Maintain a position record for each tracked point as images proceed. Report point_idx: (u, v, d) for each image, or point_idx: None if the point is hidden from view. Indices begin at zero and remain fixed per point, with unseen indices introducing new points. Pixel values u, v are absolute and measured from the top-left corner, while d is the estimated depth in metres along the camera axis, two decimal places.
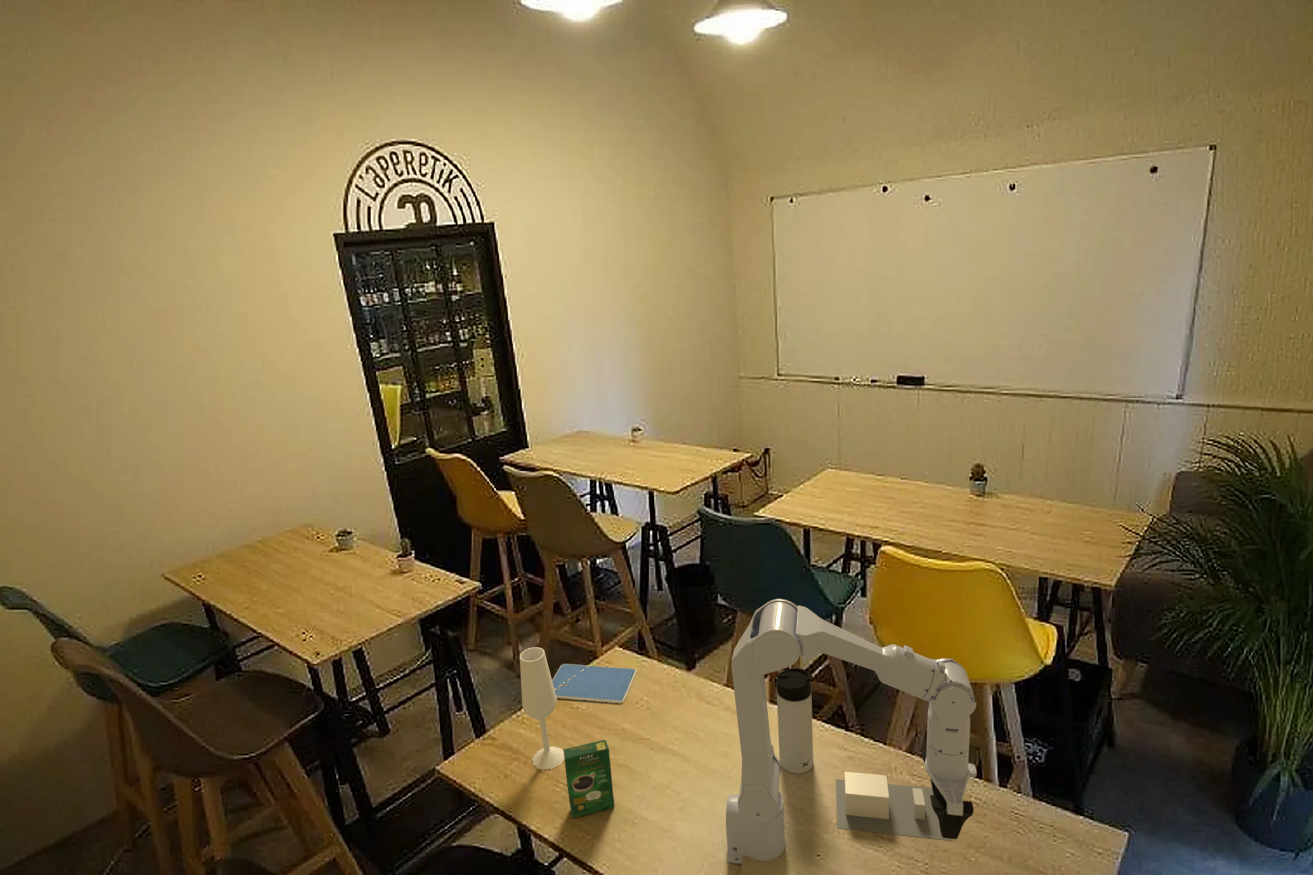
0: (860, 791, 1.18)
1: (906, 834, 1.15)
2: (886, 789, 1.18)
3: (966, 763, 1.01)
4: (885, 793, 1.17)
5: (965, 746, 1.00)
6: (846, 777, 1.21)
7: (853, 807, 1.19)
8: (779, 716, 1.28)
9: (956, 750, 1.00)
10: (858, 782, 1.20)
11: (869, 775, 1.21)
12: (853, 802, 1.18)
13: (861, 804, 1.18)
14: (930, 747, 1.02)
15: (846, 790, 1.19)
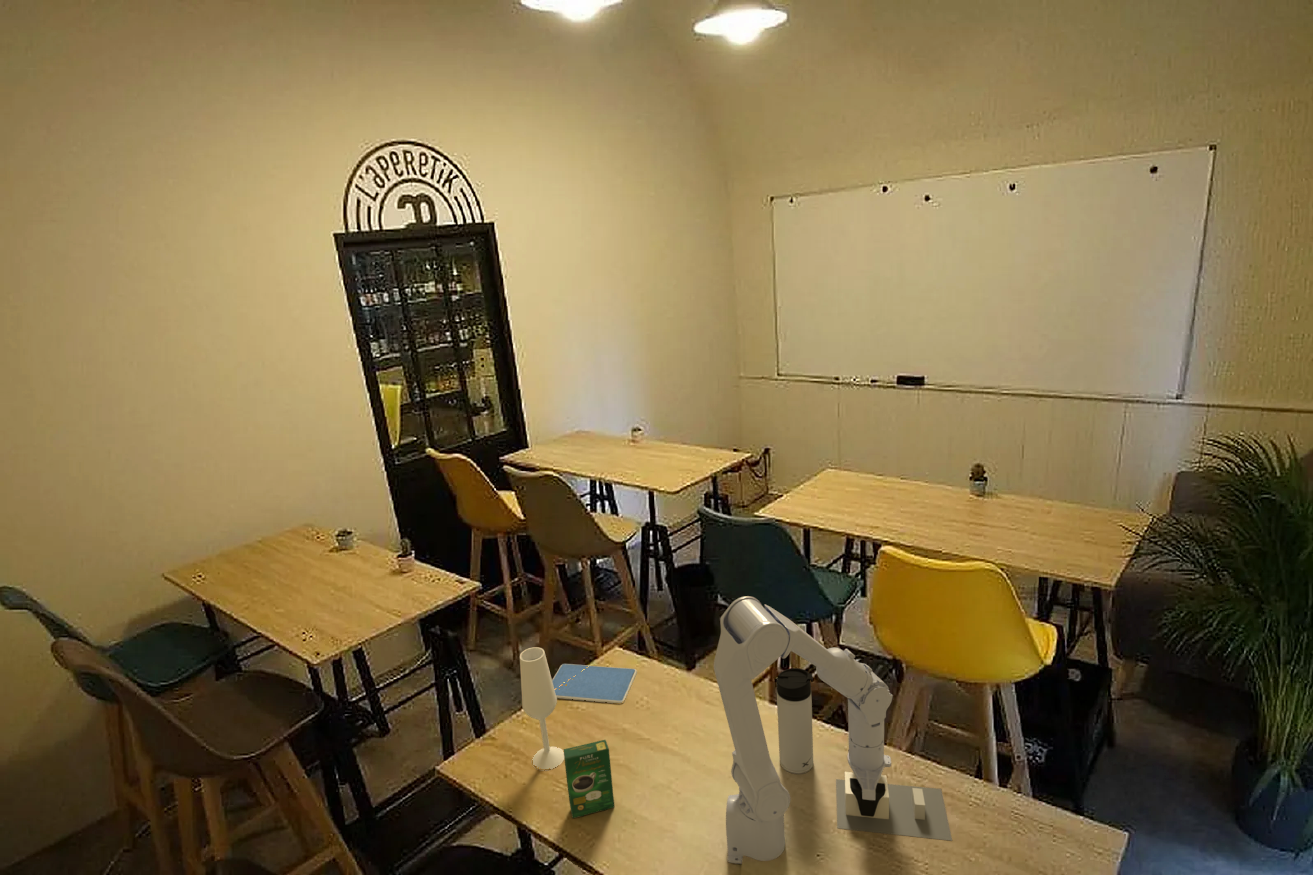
0: None
1: (906, 834, 1.15)
2: (886, 789, 1.18)
3: (881, 755, 1.15)
4: (885, 793, 1.17)
5: (883, 735, 1.15)
6: (846, 777, 1.21)
7: (853, 807, 1.19)
8: (779, 716, 1.28)
9: (879, 741, 1.14)
10: None
11: None
12: (853, 802, 1.18)
13: None
14: (850, 741, 1.16)
15: (846, 790, 1.19)
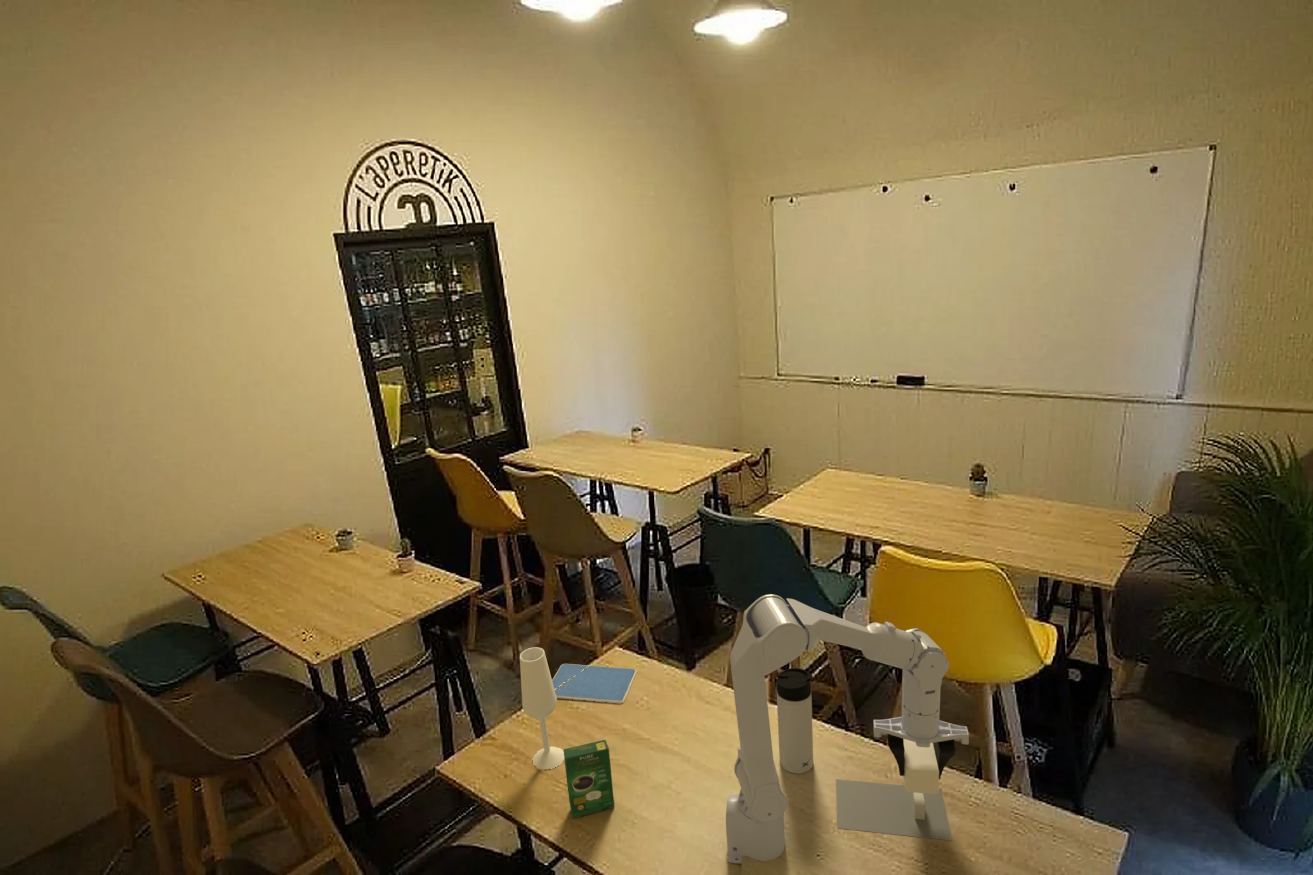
0: (907, 749, 1.17)
1: (906, 834, 1.15)
2: (917, 768, 1.13)
3: (912, 724, 1.12)
4: (911, 767, 1.13)
5: (939, 704, 1.11)
6: None
7: None
8: (779, 716, 1.28)
9: (933, 709, 1.10)
10: (920, 749, 1.17)
11: (933, 758, 1.15)
12: None
13: None
14: None
15: (905, 740, 1.19)
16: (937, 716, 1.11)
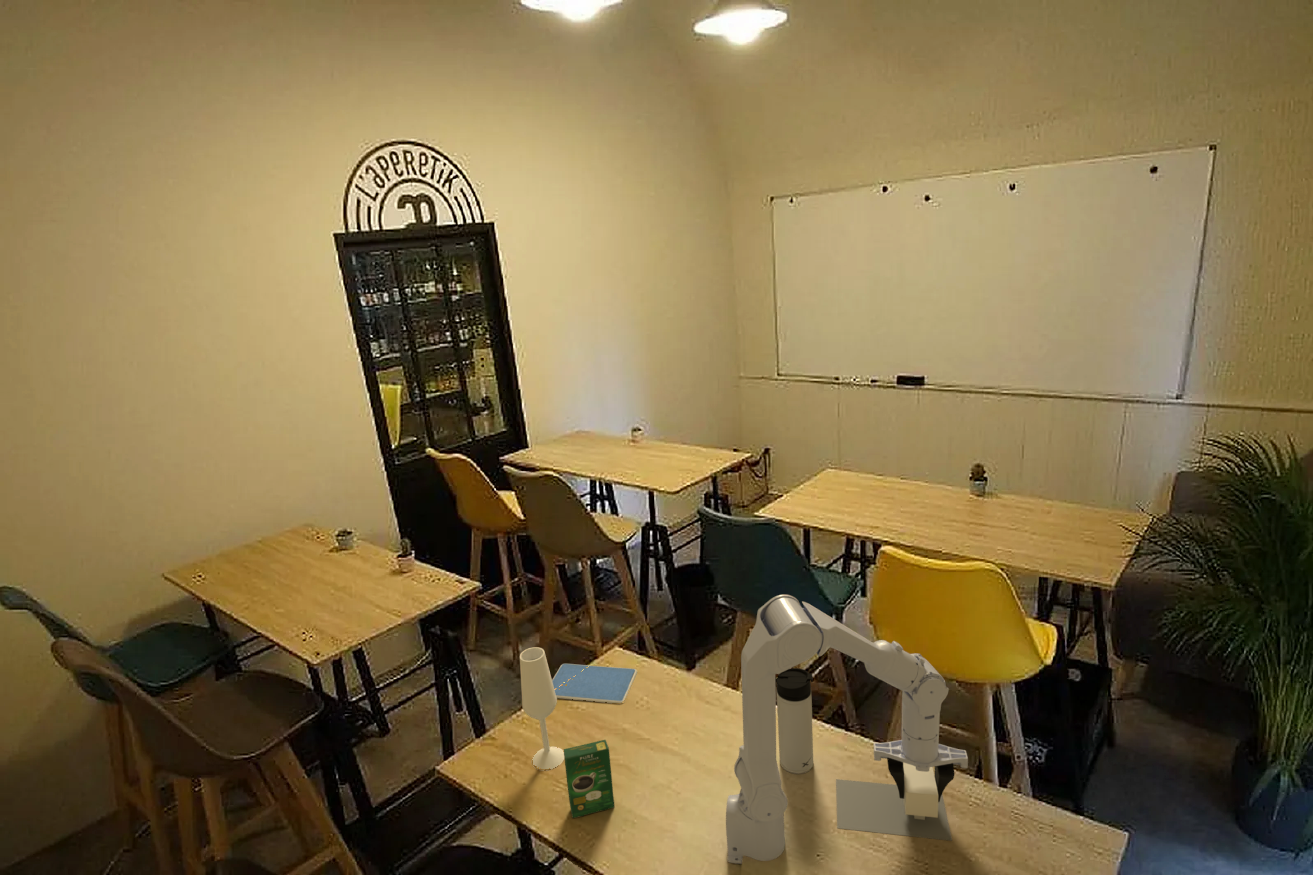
0: (907, 772, 1.18)
1: (906, 834, 1.15)
2: (916, 792, 1.14)
3: (911, 749, 1.13)
4: (910, 790, 1.15)
5: (938, 728, 1.12)
6: None
7: None
8: (779, 716, 1.28)
9: (933, 734, 1.11)
10: (920, 772, 1.18)
11: (933, 782, 1.16)
12: None
13: None
14: None
15: None
16: (936, 740, 1.12)
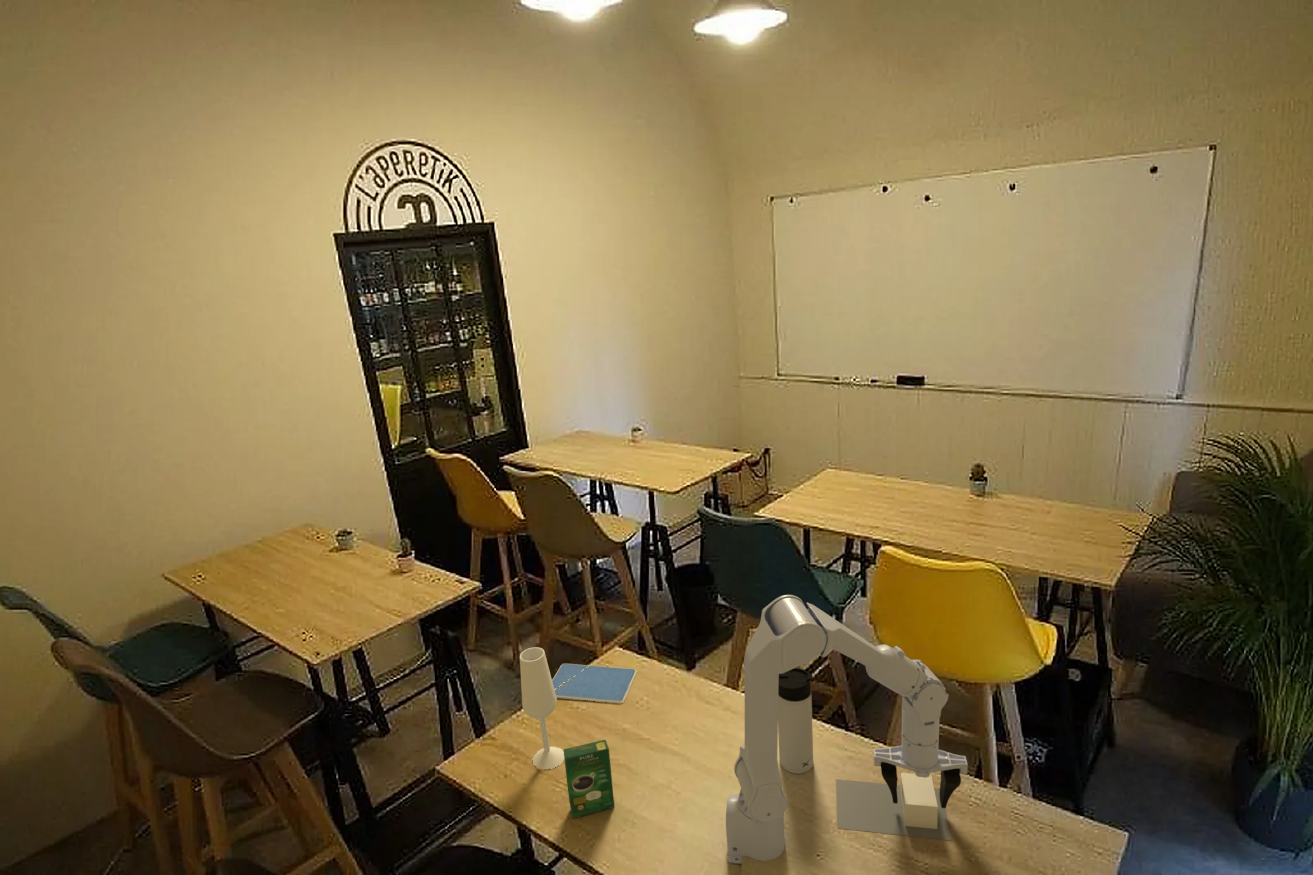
0: (907, 783, 1.19)
1: (906, 834, 1.15)
2: (916, 803, 1.15)
3: (911, 754, 1.13)
4: (910, 802, 1.15)
5: (938, 734, 1.13)
6: None
7: (901, 791, 1.21)
8: (779, 716, 1.28)
9: (933, 740, 1.12)
10: (920, 784, 1.19)
11: (932, 793, 1.17)
12: (901, 786, 1.21)
13: (902, 793, 1.20)
14: None
15: (904, 773, 1.21)
16: (936, 746, 1.13)
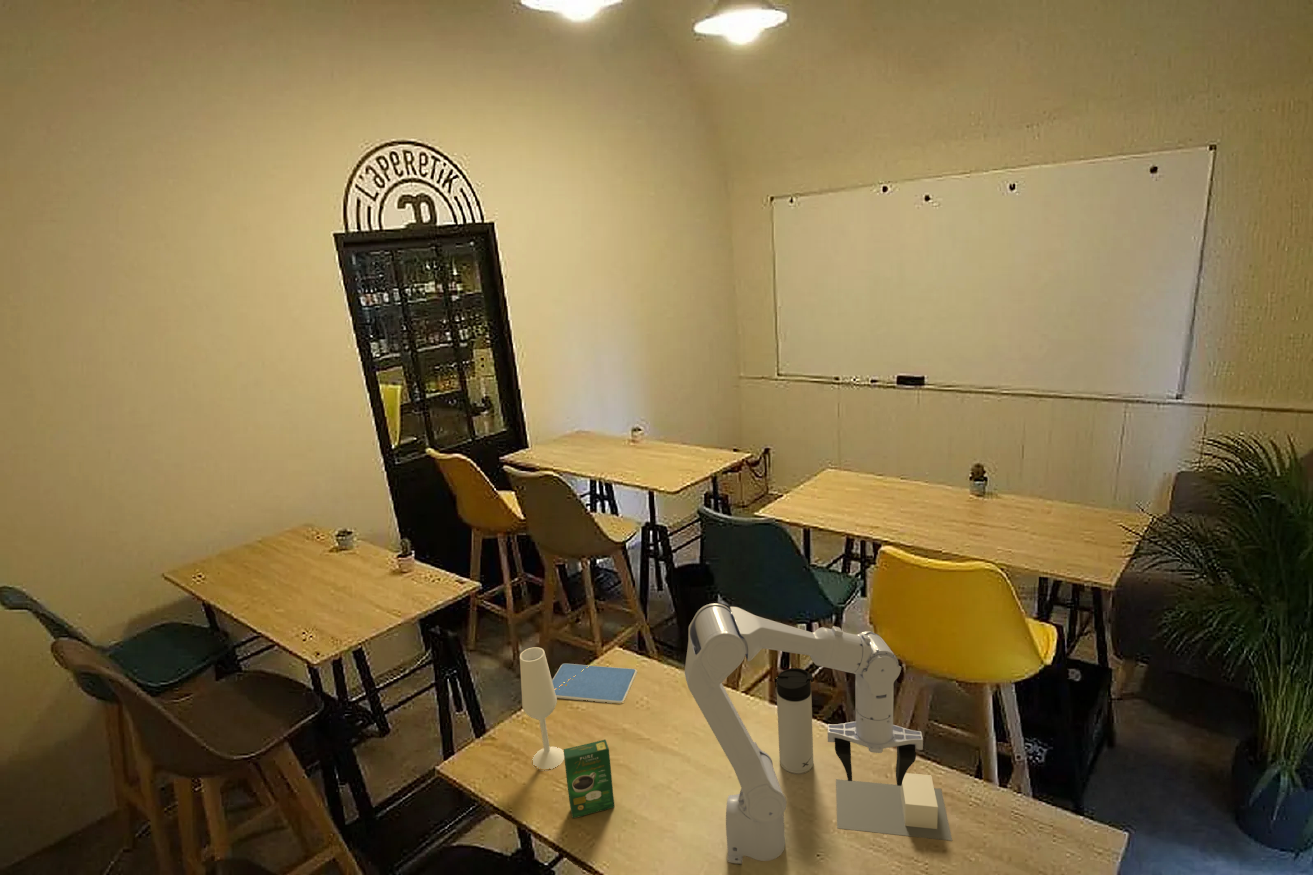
0: (907, 783, 1.19)
1: (906, 834, 1.15)
2: (916, 803, 1.15)
3: (864, 729, 1.09)
4: (910, 802, 1.15)
5: (891, 709, 1.09)
6: (923, 775, 1.20)
7: (901, 791, 1.21)
8: (779, 716, 1.28)
9: (885, 714, 1.08)
10: (920, 784, 1.19)
11: (932, 793, 1.17)
12: (901, 786, 1.21)
13: (902, 793, 1.20)
14: None
15: None
16: (890, 721, 1.09)
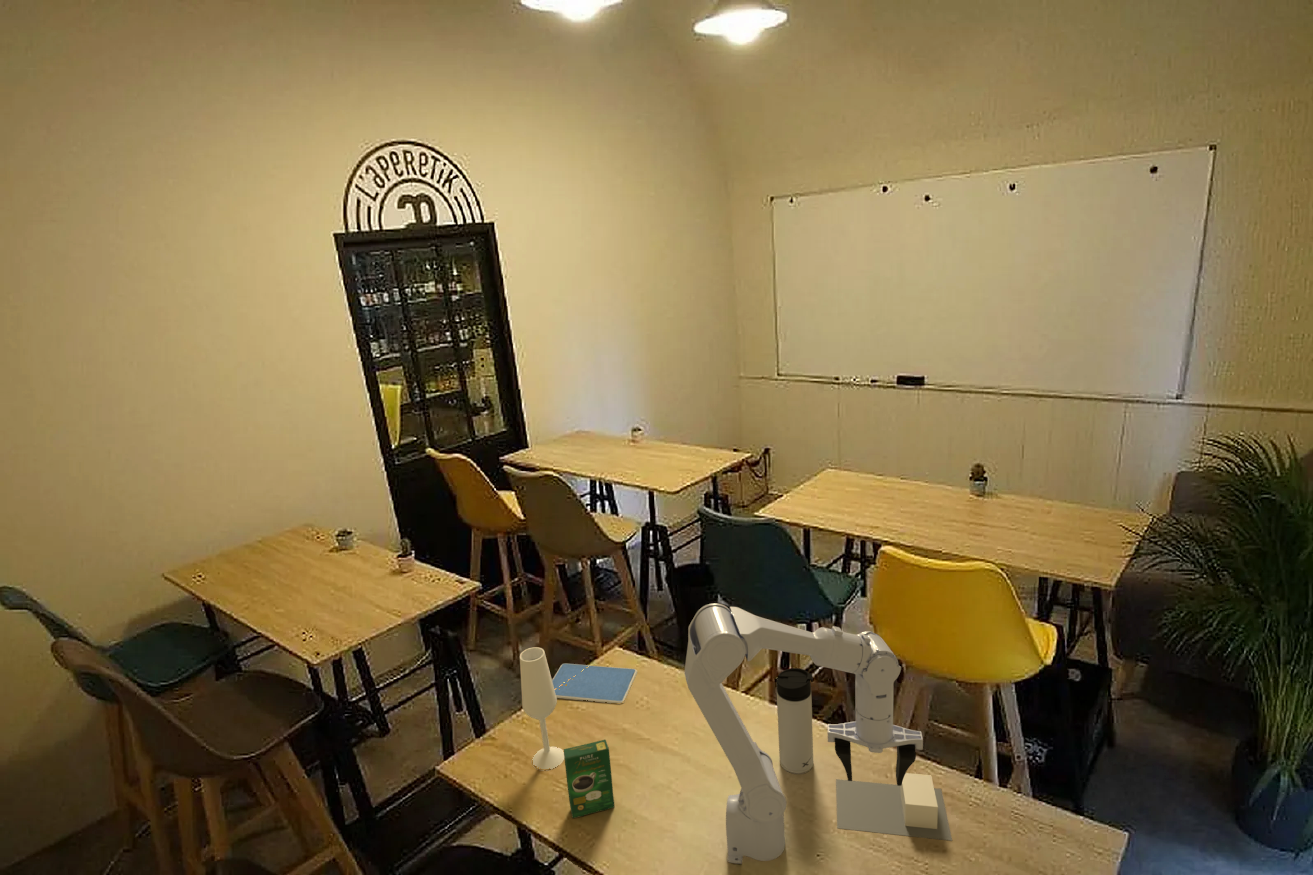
0: (907, 783, 1.19)
1: (906, 834, 1.15)
2: (916, 803, 1.15)
3: (864, 729, 1.09)
4: (910, 802, 1.15)
5: (891, 709, 1.09)
6: (923, 775, 1.20)
7: (901, 791, 1.21)
8: (779, 716, 1.28)
9: (885, 714, 1.08)
10: (920, 784, 1.19)
11: (932, 793, 1.17)
12: (901, 786, 1.21)
13: (902, 793, 1.20)
14: None
15: None
16: (890, 721, 1.09)
